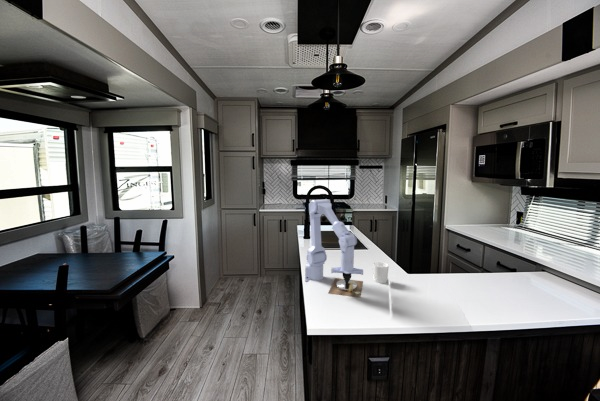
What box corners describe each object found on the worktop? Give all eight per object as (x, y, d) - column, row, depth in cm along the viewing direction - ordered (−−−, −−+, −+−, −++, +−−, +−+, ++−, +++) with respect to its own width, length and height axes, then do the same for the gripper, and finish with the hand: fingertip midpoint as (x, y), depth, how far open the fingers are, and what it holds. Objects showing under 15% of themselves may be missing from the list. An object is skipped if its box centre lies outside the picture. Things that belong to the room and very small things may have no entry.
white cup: (370, 284, 144) (371, 265, 142) (374, 278, 150) (374, 261, 149) (386, 287, 140) (387, 268, 139) (389, 281, 147) (389, 263, 146)
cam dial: (334, 282, 142) (335, 272, 141) (354, 282, 142) (354, 272, 142) (340, 295, 127) (340, 284, 127) (361, 295, 128) (361, 284, 127)
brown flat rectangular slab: (328, 295, 130) (328, 292, 130) (334, 280, 149) (334, 276, 148) (360, 300, 126) (360, 296, 126) (363, 283, 144) (363, 280, 144)
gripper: (331, 262, 124) (330, 290, 126) (364, 263, 122) (363, 293, 124) (331, 257, 131) (331, 284, 133) (362, 258, 129) (362, 286, 130)
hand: (346, 288), depth 129 cm, fingers closed, pressing on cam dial
